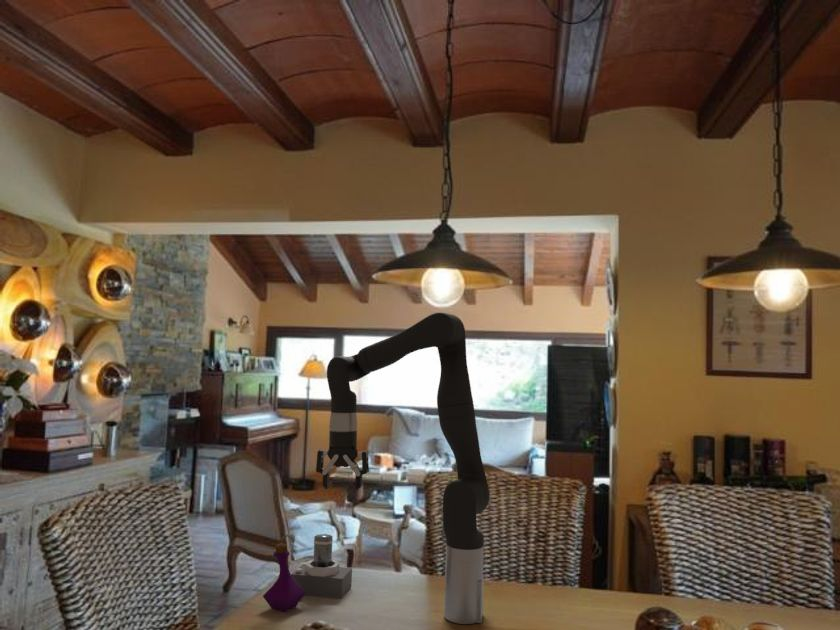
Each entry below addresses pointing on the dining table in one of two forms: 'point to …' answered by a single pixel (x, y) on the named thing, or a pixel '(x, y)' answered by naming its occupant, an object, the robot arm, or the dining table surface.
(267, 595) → the perfume bottle
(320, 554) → the lens
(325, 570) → the camera body
